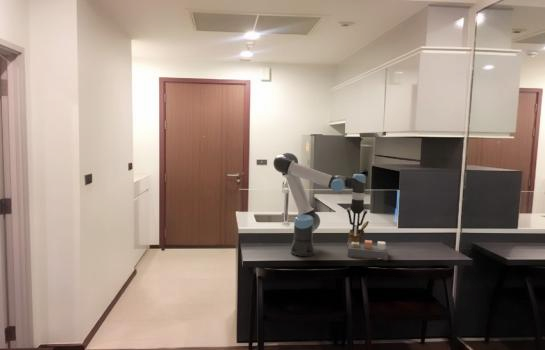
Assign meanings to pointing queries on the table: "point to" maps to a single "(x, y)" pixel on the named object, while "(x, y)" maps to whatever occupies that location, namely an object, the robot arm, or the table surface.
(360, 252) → the key console
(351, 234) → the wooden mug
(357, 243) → the birch key
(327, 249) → the table surface
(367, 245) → the terracotta key
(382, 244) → the white key
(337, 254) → the table surface
